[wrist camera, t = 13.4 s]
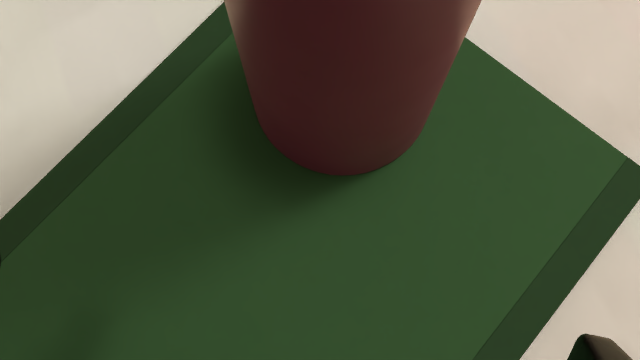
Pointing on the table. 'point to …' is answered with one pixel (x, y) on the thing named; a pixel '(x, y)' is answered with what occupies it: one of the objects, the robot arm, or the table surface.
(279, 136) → the grape tub
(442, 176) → the cloth
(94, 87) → the table surface
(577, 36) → the table surface
